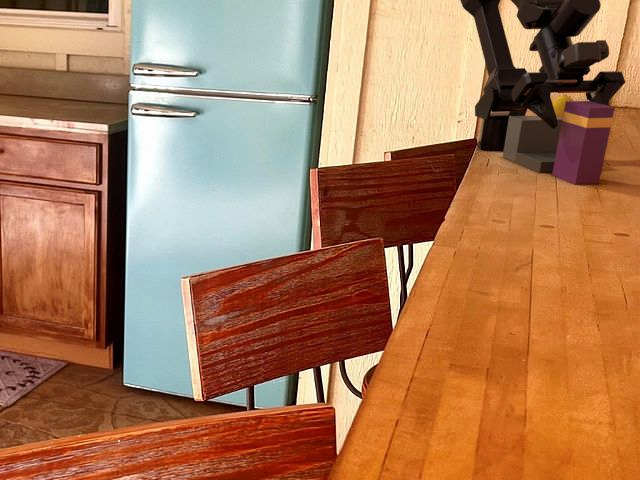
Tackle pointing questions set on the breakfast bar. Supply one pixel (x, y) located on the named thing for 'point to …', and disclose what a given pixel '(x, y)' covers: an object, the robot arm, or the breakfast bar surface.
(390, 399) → the breakfast bar surface
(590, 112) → the chocolate box
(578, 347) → the breakfast bar surface
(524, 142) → the grey l-shaped stand
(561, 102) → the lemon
